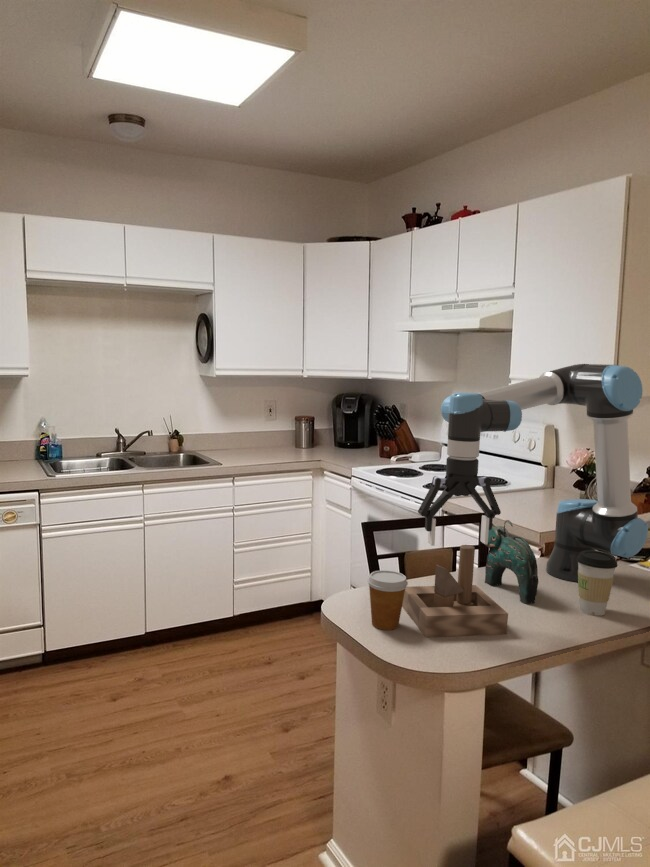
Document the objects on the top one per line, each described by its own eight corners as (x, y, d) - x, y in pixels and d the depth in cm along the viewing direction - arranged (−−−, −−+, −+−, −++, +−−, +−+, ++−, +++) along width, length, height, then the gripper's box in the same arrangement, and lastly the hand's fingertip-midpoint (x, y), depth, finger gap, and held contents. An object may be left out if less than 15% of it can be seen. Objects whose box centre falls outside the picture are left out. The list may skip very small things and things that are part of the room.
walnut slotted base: (474, 603, 174) (475, 584, 173) (506, 633, 155) (508, 613, 155) (401, 605, 170) (402, 586, 170) (425, 636, 152) (426, 616, 151)
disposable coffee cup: (358, 619, 160) (360, 571, 159) (392, 614, 164) (395, 568, 162) (376, 635, 151) (379, 585, 150) (412, 630, 155) (415, 581, 154)
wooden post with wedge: (431, 620, 161) (436, 549, 159) (462, 612, 168) (467, 543, 165) (442, 626, 158) (447, 553, 156) (473, 617, 165) (478, 547, 162)
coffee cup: (582, 601, 179) (587, 547, 177) (618, 612, 172) (624, 556, 170) (565, 609, 172) (570, 554, 170) (603, 621, 165) (608, 563, 163)
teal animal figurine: (478, 581, 192) (482, 513, 189) (496, 578, 194) (501, 512, 192) (523, 606, 173) (529, 532, 171) (542, 603, 176) (549, 530, 174)
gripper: (504, 454, 164) (498, 537, 167) (407, 454, 159) (403, 540, 162) (518, 459, 157) (512, 546, 159) (417, 460, 152) (413, 549, 155)
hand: (457, 543), depth 161 cm, fingers open, 13 cm apart
